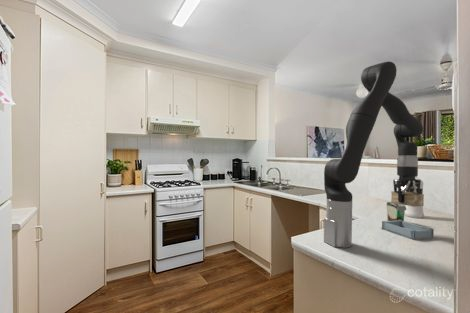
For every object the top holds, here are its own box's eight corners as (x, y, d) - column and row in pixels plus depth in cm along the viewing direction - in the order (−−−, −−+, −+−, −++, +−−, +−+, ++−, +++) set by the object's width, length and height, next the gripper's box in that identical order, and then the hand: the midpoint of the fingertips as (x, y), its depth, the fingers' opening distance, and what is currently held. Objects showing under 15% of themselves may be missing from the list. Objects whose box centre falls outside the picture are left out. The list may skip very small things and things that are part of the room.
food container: (411, 227, 111) (411, 207, 111) (397, 226, 112) (397, 206, 112) (398, 220, 123) (398, 202, 123) (386, 219, 124) (386, 201, 125)
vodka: (411, 218, 129) (412, 166, 129) (400, 214, 138) (401, 165, 138) (428, 218, 128) (428, 166, 129) (415, 214, 138) (416, 166, 138)
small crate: (413, 206, 96) (413, 194, 96) (391, 202, 106) (391, 191, 106) (423, 205, 98) (423, 194, 98) (400, 201, 108) (400, 190, 108)
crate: (413, 239, 93) (413, 230, 93) (381, 229, 107) (382, 221, 107) (433, 237, 97) (433, 228, 97) (400, 227, 111) (400, 219, 111)
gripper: (403, 165, 96) (403, 204, 96) (427, 166, 101) (427, 203, 100) (387, 165, 104) (387, 201, 104) (410, 165, 108) (410, 200, 108)
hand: (406, 202), depth 102 cm, fingers closed on small crate, 6 cm apart
